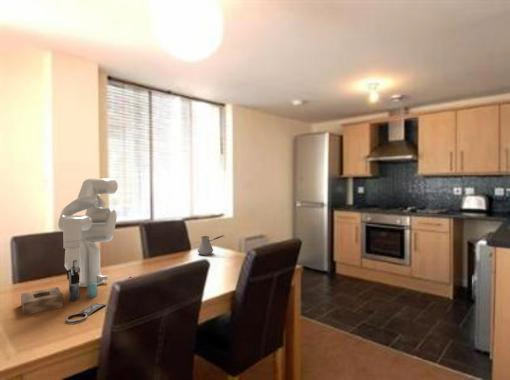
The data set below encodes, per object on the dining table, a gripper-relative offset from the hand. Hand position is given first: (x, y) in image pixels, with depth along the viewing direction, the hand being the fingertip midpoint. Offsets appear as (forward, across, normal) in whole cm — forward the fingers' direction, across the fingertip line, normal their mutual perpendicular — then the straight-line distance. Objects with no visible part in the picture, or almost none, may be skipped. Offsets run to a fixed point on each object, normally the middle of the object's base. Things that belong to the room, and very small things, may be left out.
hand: (73, 281), depth 150 cm
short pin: (+9, 0, +8) cm, 12 cm away
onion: (+9, +6, +24) cm, 26 cm away
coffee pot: (+6, -37, +96) cm, 103 cm away
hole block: (+9, -1, -12) cm, 15 cm away
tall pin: (+9, -1, 0) cm, 9 cm away
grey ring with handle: (+10, +20, +2) cm, 23 cm away
